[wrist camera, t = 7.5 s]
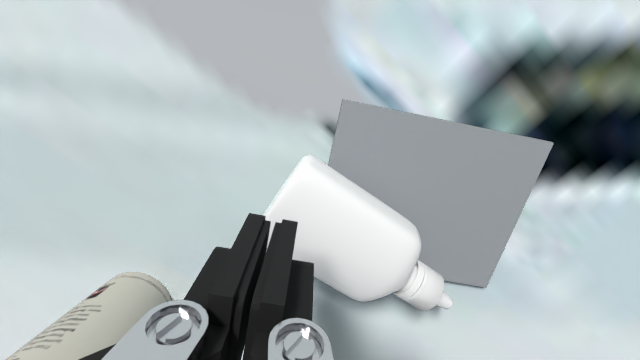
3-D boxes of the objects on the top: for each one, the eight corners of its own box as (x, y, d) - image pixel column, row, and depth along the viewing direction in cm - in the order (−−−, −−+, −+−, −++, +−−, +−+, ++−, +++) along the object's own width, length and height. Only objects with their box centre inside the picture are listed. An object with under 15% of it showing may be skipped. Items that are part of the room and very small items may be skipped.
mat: (548, 141, 17) (553, 142, 17) (483, 283, 21) (486, 287, 20) (342, 99, 16) (342, 99, 16) (309, 253, 20) (308, 257, 19)
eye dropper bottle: (301, 155, 19) (450, 254, 20) (251, 231, 18) (407, 327, 20) (310, 147, 15) (497, 273, 16) (244, 247, 14) (444, 367, 16)
